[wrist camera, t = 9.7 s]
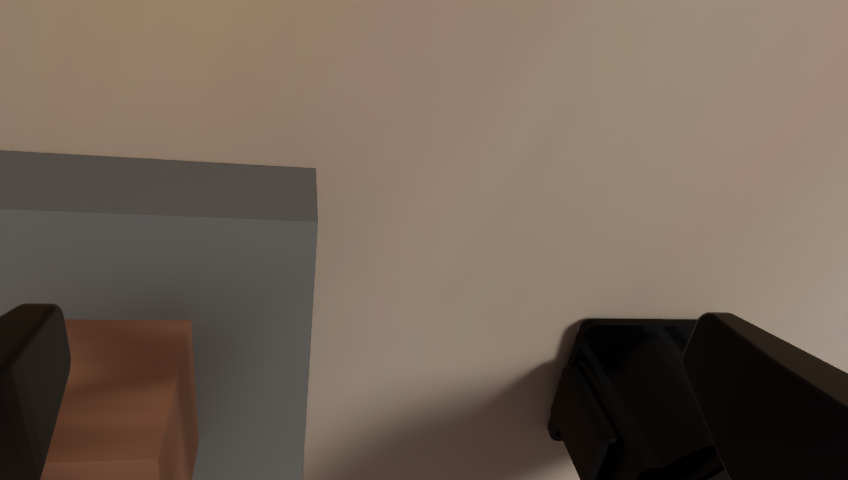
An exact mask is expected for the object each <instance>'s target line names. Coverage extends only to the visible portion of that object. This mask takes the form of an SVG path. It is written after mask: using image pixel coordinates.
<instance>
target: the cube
mask: <svg viewBox="0 0 848 480" xmlns="http://www.w3.org/2000/svg"><path fill="white" fill-rule="evenodd" d="M64 320H65V326H66V331H67V337H68V342H69V348H70V353H71V367H70V373H69V377H68V381H67V384H66V388H65V392H64V395H63V399H62V403H61V406H60V410H59V414H58V418H57V421H56V425H55V429H54V432H53V436H52V440H51V443H50V447H49V451H48V454H47V458H46V462H45V465H44V469H43V472H42V475H41V479H40V480H192V477H193V471H194V465H195V460H196V454H197V449H198V443H199V436H198V420H197V404H196V388H195V372H194V356H193V340H192V324H191V320H83V319H64Z"/></svg>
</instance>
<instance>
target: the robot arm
mask: <svg viewBox="0 0 848 480" xmlns="http://www.w3.org/2000/svg"><path fill="white" fill-rule="evenodd" d="M593 330H596V331H595V332H593V333H590V332H592V331H593ZM70 367H71V353H70V348H69V342H68V337H67V331H66V326H65V320H64V315H63V312H62V310H61V308H60V307H59V306H58V305H56V304H52V303H24V304H21V305H19V306H17V307H15V308H13V309H12V310H10V311H8V312H7V313H5V314H3V315H2V316H0V480H40V479H41V475H42V472H43V469H44V465H45V462H46V458H47V454H48V451H49V447H50V443H51V440H52V436H53V432H54V429H55V425H56V421H57V418H58V414H59V410H60V406H61V403H62V399H63V395H64V392H65V388H66V384H67V381H68V377H69V373H70ZM547 430H548V432H549V434H550V437H551V438H552V439H553V440H555V441H564V444H565V446H566V448H567V450H568V453H569V455H570V457H571V459H572V462H573V464H574V466H575V469H576V471H577V473H578V475H579V478H580V480H848V373H846V372H844V371H842V370H840V369H838V368H836V367H834V366H832V365H830V364H828V363H826V362H824V361H822V360H821V359H819V358H817V357H815V356H813V355H811V354H809V353H807V352H805V351H803V350H801V349H799V348H797V347H795V346H794V345H792V344H790V343H788V342H786V341H784V340H782V339H780V338H778V337H776V336H774V335H772V334H770V333H768V332H766V331H765V330H763V329H761V328H759V327H757V326H755V325H753V324H751V323H749V322H747V321H745V320H743V319H741V318H739V317H738V316H736V315H734V314H731V313H720V312H708V313H705V314H703V315H702V316H701V317H699V319H698V320H662V319H590V320H587V321H585V322H584V323H583V324H582V325H581V326H580V328H579V331H578V334H577V337H576V340H575V343H574V346H573V349H572V353H571V356H570V359H569V362H568V365H567V366H566V367H565V369H564V370H563V373H562V376H561V379H560V382H559V385H558V388H557V392H556V395H555V398H554V401H553V404H552V407H551V417H550V420H549V423H548V427H547Z"/></svg>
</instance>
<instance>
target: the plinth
mask: <svg viewBox="0 0 848 480" xmlns="http://www.w3.org/2000/svg"><path fill="white" fill-rule="evenodd" d="M317 226H318V215H317V189H316V169H314V168H297V167H279V166H262V165H244V164H227V163H210V162H192V161H175V160H157V159H140V158H123V157H105V156H88V155H70V154H53V153H36V152H18V151H1V150H0V316H2V315H3V314H5V313H7V312H8V311H10V310H12V309H13V308H15V307H17V306H19V305H21V304H24V303H52V304H56V305H58V306H59V307H60V308H61V310H62V312H63V315H64V319H83V320H191V324H192V340H193V356H194V372H195V388H196V404H197V420H198V436H199V443H198V449H197V454H196V460H195V465H194V471H193V477H192V480H302V476H303V459H304V443H305V426H306V409H307V393H308V376H309V359H310V343H311V326H312V309H313V293H314V276H315V260H316V243H317Z"/></svg>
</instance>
